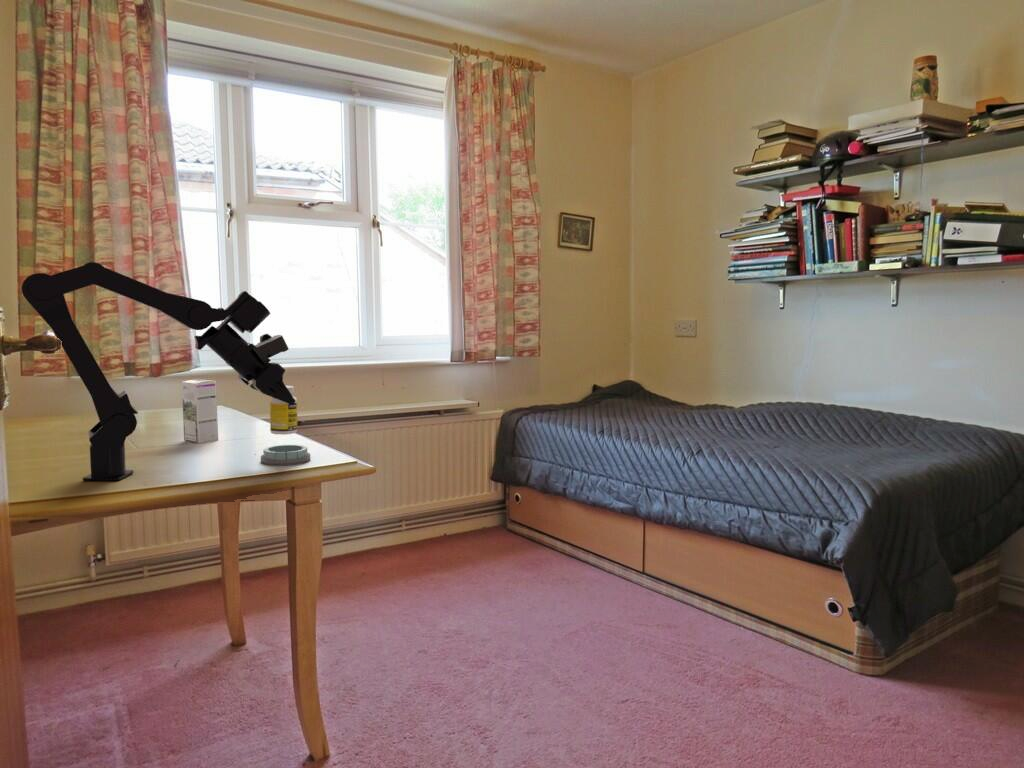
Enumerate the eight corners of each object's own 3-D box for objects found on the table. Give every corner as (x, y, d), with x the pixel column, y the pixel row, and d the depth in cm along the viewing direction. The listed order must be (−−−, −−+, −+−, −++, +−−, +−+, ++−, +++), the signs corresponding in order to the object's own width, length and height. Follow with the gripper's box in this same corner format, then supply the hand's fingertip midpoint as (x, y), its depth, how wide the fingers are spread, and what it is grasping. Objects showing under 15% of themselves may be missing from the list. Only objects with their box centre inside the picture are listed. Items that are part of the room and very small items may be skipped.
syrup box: (219, 440, 172) (217, 380, 170) (197, 444, 167) (195, 382, 165) (204, 437, 175) (203, 378, 173) (182, 441, 170) (180, 380, 168)
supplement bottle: (291, 435, 147) (290, 388, 146) (266, 434, 148) (265, 387, 147) (301, 431, 153) (301, 385, 152) (277, 430, 153) (276, 384, 152)
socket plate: (304, 465, 146) (304, 453, 146) (254, 465, 146) (254, 453, 145) (314, 455, 156) (314, 444, 156) (267, 455, 156) (267, 444, 155)
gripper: (273, 322, 138) (330, 377, 145) (253, 320, 154) (305, 370, 160) (231, 364, 135) (291, 418, 141) (214, 357, 150) (269, 406, 157)
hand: (290, 401), depth 150 cm, fingers closed on supplement bottle, 5 cm apart
